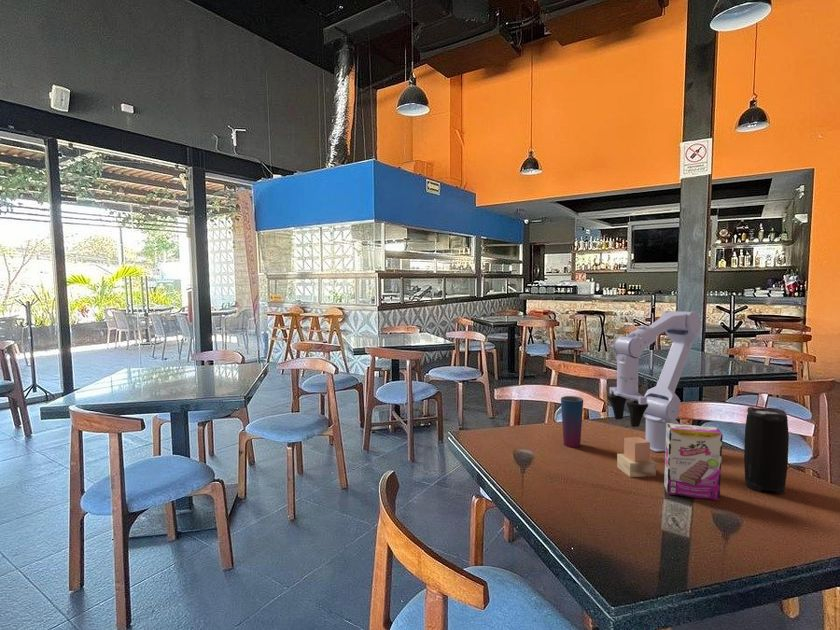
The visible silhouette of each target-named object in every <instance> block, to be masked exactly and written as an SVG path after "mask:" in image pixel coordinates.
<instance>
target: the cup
mask: <svg viewBox="0 0 840 630" xmlns="http://www.w3.org/2000/svg"><path fill="white" fill-rule="evenodd" d="M560 404H561V405H560V406H561V420H562V421H561V422H562V424H561V425H562V437H563V440H562V441H563V445H564V446H565V447H568V448H575V449H576V448H579V447H580V446H581V439H582V438H581V437H582V425H583V424H582V423H583V412H584V411H583V410H584V398H582V397H580V396H576V395H575V396H574V395H565V396H561V397H560Z"/></svg>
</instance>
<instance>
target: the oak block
mask: <svg viewBox="0 0 840 630" xmlns="http://www.w3.org/2000/svg"><path fill="white" fill-rule="evenodd" d="M616 457H617V458H616V460H617V461H616V467H617V468H618V469H619V470H620V471H622V473H624V474H625V475H627V476H628V477H629V478H638V477H639V478H640V477H641V478H642V477H644V478H645V477H646V476H648V477H656V476H657V462H656V461H655V460H653V459H652V458H650V461H639V462H634V461H632V460H630V459H629V458H627V457H625V456H624V453H617V454H616Z"/></svg>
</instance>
